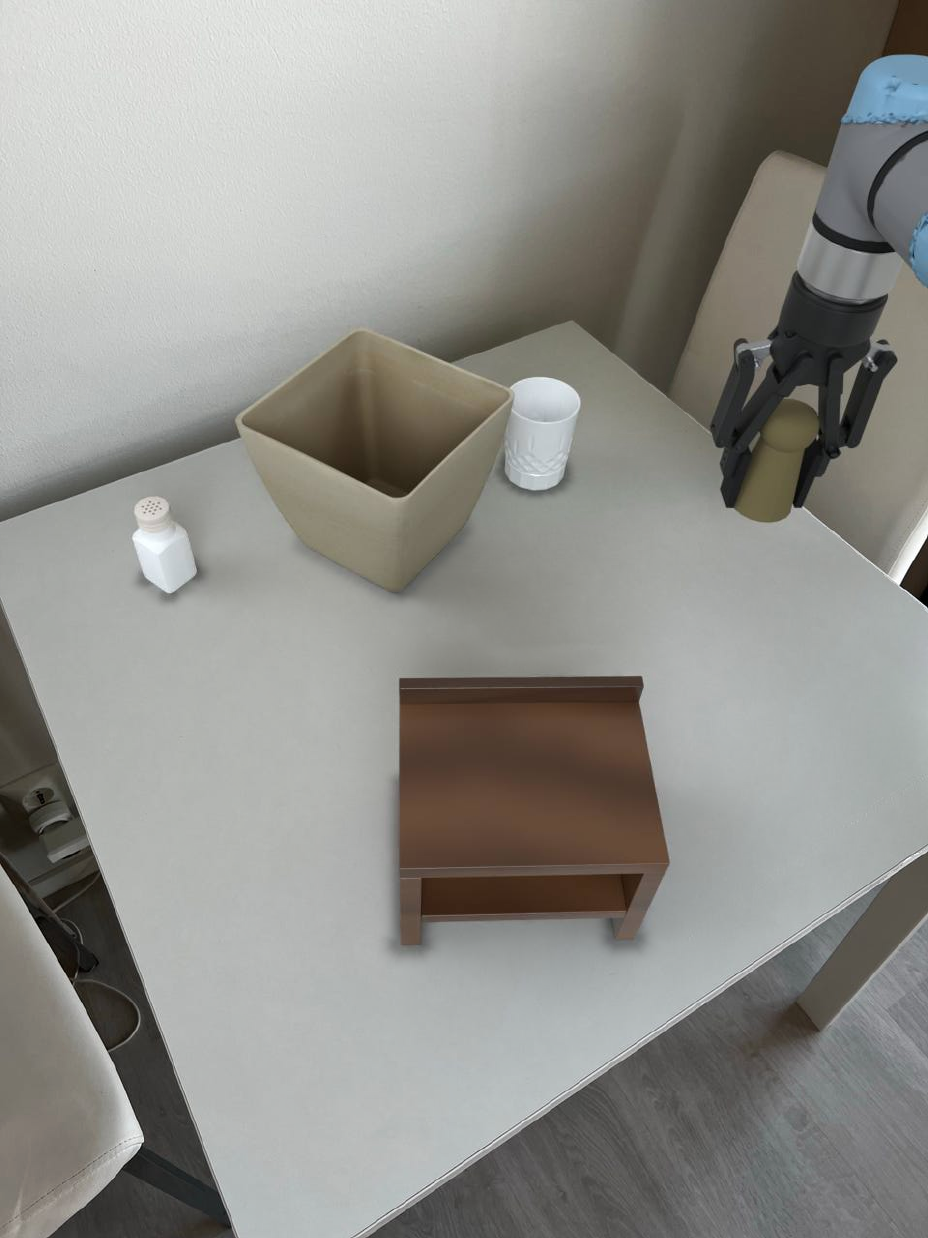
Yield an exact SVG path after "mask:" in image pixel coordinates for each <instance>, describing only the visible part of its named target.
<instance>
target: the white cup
mask: <svg viewBox="0 0 928 1238" xmlns="http://www.w3.org/2000/svg"><path fill="white" fill-rule="evenodd" d="M509 388H510V389H512V390H513V392H514V393H515V397H514V401H513V406H512V409H511V413H510V417H509V420H508V423H507V427H506V430H505V433H504V437H503V440H504V448H503V449H504V459H505V460H504V473H505V475H506V476H507V478H508V480H509V481H510V482H511V483H513V484H514V485H515V486H517V487H519V488H521V489H524V490H529V491H544V490H545V491H547V490H549V489H551V488H553V487H556V486H557V485H559V483H560V482H561V481H562V479H563V478H564V476H565V471H566V466H567V462H568V458H569V456H570V453H571V448H572V444H573V441H574V437H575V433H576V429H577V428H576V427H577V423H578V420H579V419H578V418H579V414H580V409H581V404H582V403H581V402H582V401H581V396H580V395H579V394H578V392H577V391H576V389H575V388H574V387H573V386H571V385H570V384H568V383H567V382H564V381H562V380H559V379H557V378H552V377H546V376H532V377H527V378H524V379H523V378H522V379H520V380H519V381H517V382H515V383H514V384H512V385H511V386H510V387H509Z"/></svg>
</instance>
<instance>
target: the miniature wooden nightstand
mask: <svg viewBox="0 0 928 1238" xmlns="http://www.w3.org/2000/svg"><path fill="white" fill-rule="evenodd" d="M644 688H645V684H644V678H643V676H642V675H615V676H614V675H601V676H600V675H596V676H595V675H594V676H592V675H591V676H585V675H583V676H491V677H490V676H479V677H478V676H475V677H471V676H469V677H468V676H467V677H466V676H465V677H399V678H398V698H399V699H398V703H399V705H398V707H399V709H398V710H399V711H398V713H399V714H398V724H399V725H398V726H399V728H398V759H399V760H398V772H399V773H398V887H399V888H398V890H399V924H400V925H399V926H400V927H399V928H400V931H399V932H400V946H421V944H422V943H421V942H422V940H421V937H422V923H453V922H457V923H459V922H460V923H461V922H497V921H498V922H499V921H503V922H504V921H541V920H543V921H544V920H585V919H587V920H588V919H611V923H612V924H611V925H612V929H613V938H614V940H615V941H633V940H635V938H636V935H637V934H638V932H639V929H640V927H641V925H642V923H643V921H644V919H645V917H646V915H647V913H648V910H649V908H650V906H651V904H652V902H653V900H654V898H655V897H656V894H657V892H658V890H659V888H660V885H661V883H662V881H663V880H664V877H665V875H666V873H667V871H668V868H669V867H670V864H671V861H670V856H669V851H668V846H667V845H668V844H667V841H666V840H667V839H666V836H665V831H664V830H665V829H664V825H663V820H662V814H661V809H660V804H659V799H658V794H657V788H656V784H655V779H654V773H653V767H652V763H651V756H650V752H649V747H648V741H647V735H646V732H645V726H644V721H643V715H642V710H641V705H640V700H641V697H642V694H643V691H644Z"/></svg>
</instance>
